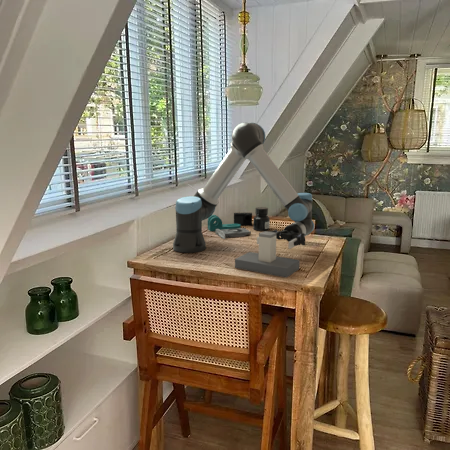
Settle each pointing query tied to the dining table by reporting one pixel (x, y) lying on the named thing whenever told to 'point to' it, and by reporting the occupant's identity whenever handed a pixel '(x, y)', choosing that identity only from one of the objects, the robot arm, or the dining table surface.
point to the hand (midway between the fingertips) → (273, 243)
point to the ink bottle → (261, 219)
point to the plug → (267, 246)
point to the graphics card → (232, 232)
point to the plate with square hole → (267, 265)
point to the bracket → (219, 224)
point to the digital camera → (243, 219)
